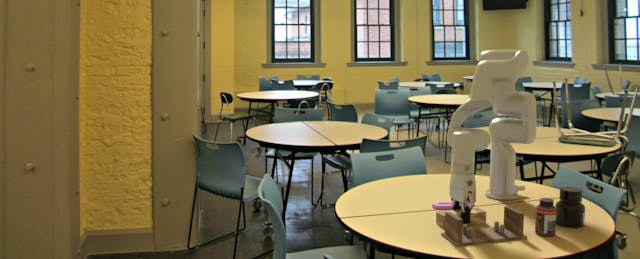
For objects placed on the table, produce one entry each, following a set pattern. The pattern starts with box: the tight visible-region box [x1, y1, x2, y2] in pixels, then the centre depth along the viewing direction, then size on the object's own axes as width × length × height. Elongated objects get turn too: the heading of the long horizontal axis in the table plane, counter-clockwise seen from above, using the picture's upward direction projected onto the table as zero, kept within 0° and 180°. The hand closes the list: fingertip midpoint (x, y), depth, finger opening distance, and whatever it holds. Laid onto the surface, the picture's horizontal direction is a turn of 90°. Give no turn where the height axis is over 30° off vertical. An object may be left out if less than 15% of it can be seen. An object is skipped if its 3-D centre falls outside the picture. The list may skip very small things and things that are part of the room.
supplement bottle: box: [534, 197, 557, 237], centre depth 161 cm, size 6×6×11 cm
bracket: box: [431, 200, 468, 210], centre depth 192 cm, size 13×6×7 cm, turn 93°
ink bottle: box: [554, 186, 586, 228], centre depth 170 cm, size 10×9×12 cm
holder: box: [440, 205, 528, 247], centre depth 159 cm, size 24×10×8 cm, turn 104°
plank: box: [435, 207, 487, 229], centre depth 173 cm, size 16×5×4 cm, turn 104°
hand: (461, 220), depth 173 cm, fingers closed on plank, 5 cm apart
